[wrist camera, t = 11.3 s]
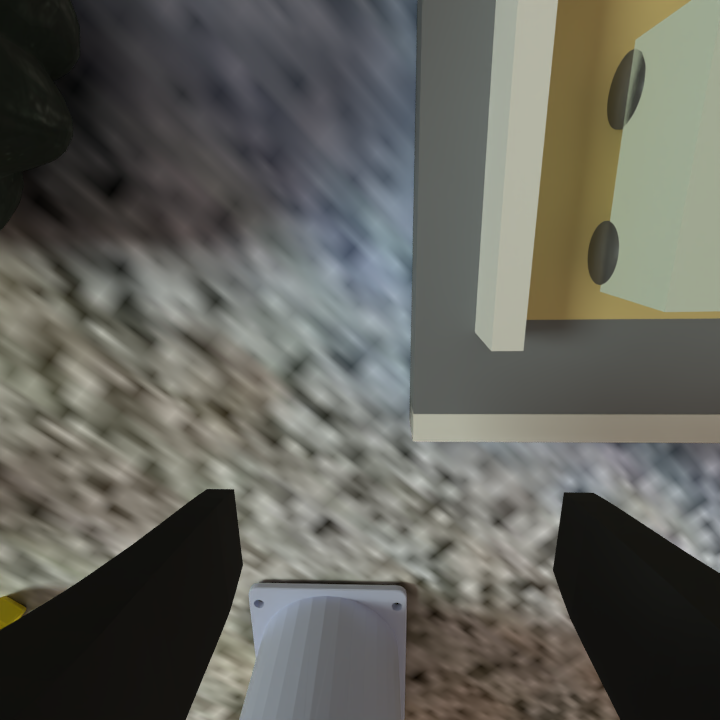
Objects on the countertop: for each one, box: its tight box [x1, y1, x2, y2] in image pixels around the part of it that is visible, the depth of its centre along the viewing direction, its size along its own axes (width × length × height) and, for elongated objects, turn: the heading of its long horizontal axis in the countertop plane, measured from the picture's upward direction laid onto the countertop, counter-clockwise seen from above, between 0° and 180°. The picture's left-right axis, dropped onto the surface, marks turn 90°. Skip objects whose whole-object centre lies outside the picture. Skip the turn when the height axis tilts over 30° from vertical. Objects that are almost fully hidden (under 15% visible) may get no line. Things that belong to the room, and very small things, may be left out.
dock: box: [410, 0, 720, 443], centre depth 14 cm, size 18×16×4 cm
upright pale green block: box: [588, 0, 720, 312], centre depth 12 cm, size 7×4×5 cm, turn 1°
